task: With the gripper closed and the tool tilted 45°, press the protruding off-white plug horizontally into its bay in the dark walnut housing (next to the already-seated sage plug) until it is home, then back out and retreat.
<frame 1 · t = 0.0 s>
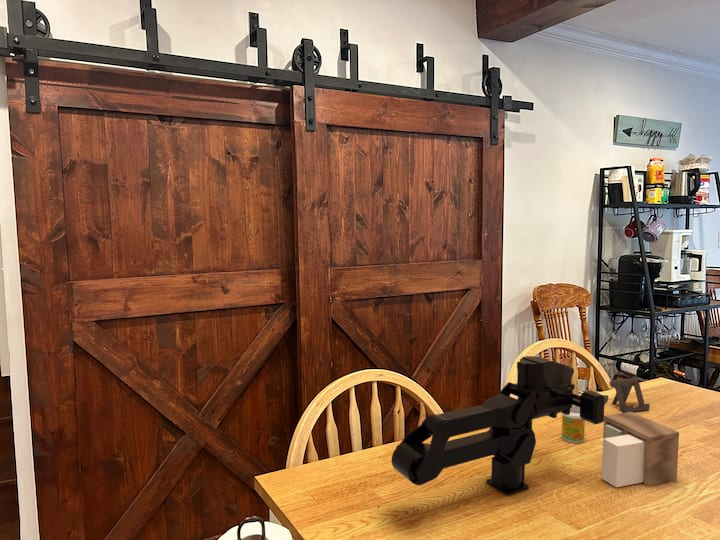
hand: (590, 391, 123), 17 cm above the table, tool horizontal, fingers open, 9 cm apart
white plug: (631, 458, 115), point 5 cm above the table, slide at 0.0 cm
portable electronic device stand: (627, 408, 159), on the table
supplement bottle: (572, 439, 137), on the table
walnut housing: (638, 470, 120), on the table
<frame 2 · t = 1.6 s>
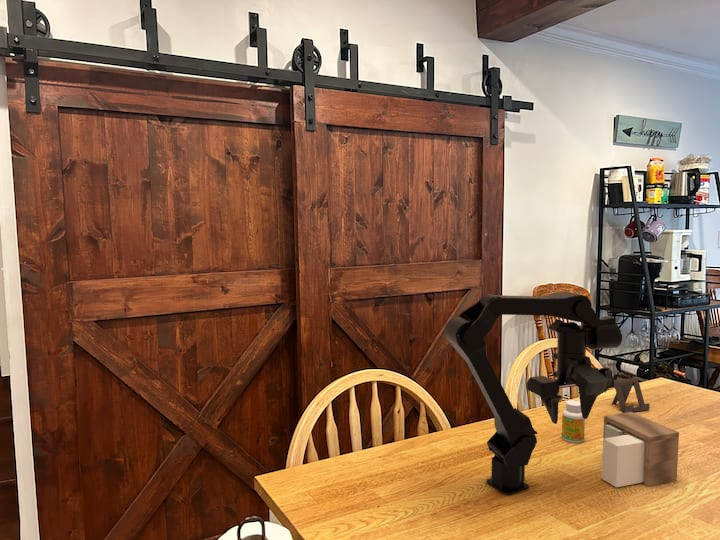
hand: (569, 420, 115), 13 cm above the table, tool pointing down, fingers open, 8 cm apart
nothing on the table moved.
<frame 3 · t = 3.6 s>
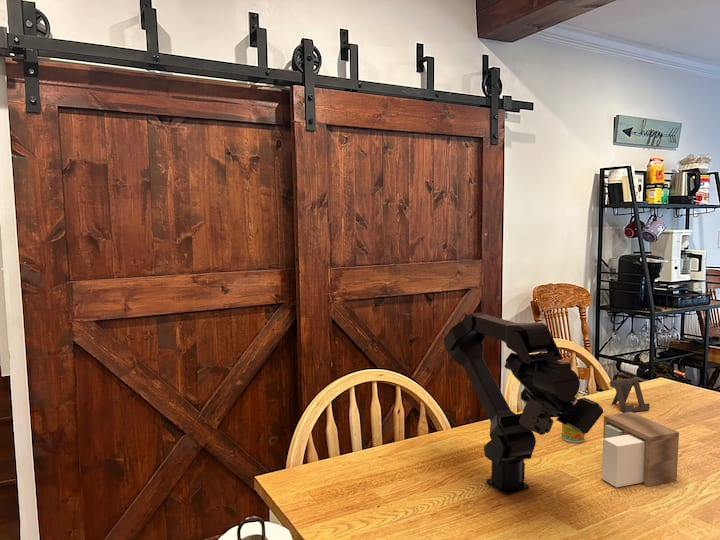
hand: (581, 427, 110), 14 cm above the table, tool tilted 45°, fingers closed
nothing on the table moved.
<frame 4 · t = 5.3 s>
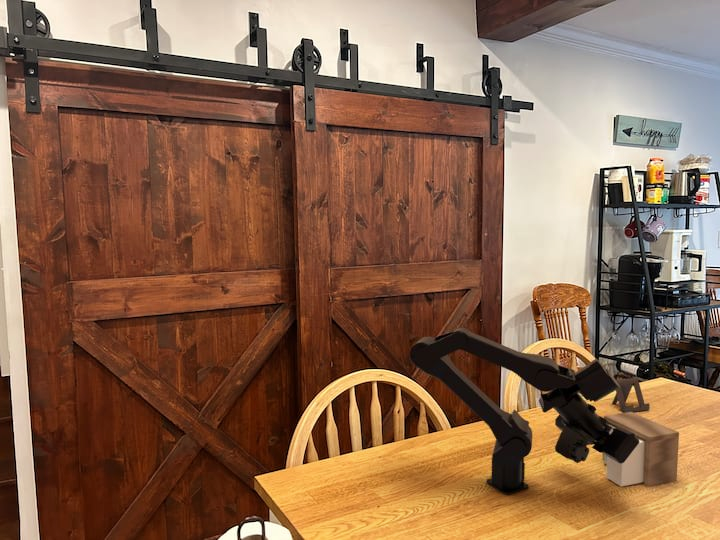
hand: (615, 454, 113), 7 cm above the table, tool tilted 45°, fingers closed, pressing on white plug
white plug: (636, 457, 115), point 5 cm above the table, slide at 1.3 cm, touching gripper
everything else where it was.
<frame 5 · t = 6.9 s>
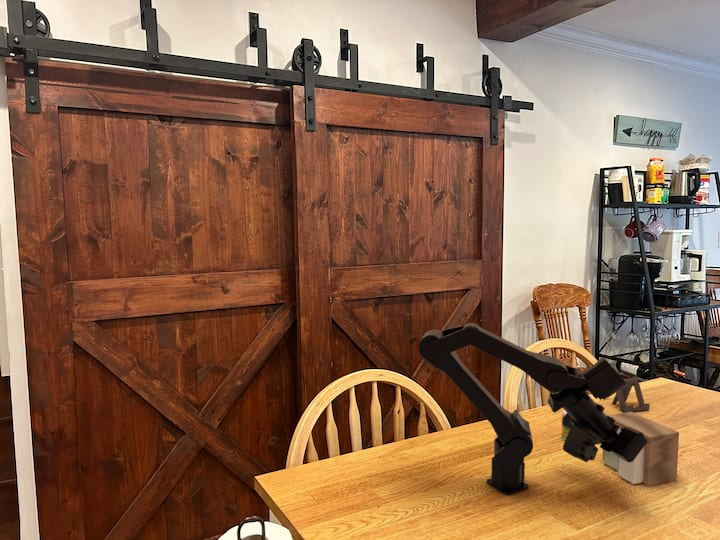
hand: (622, 454, 113), 6 cm above the table, tool tilted 45°, fingers closed
white plug: (648, 455, 116), point 5 cm above the table, slide at 4.5 cm
everything else where it was.
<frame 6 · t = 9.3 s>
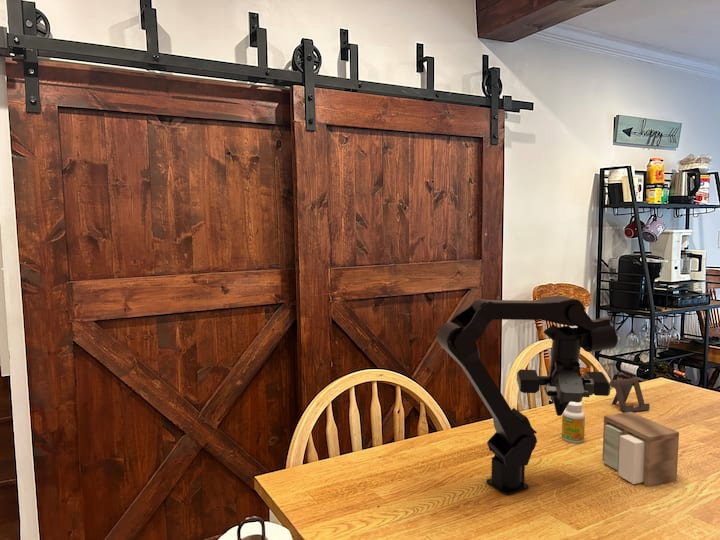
hand: (558, 414, 119), 13 cm above the table, tool pointing down, fingers closed
nothing on the table moved.
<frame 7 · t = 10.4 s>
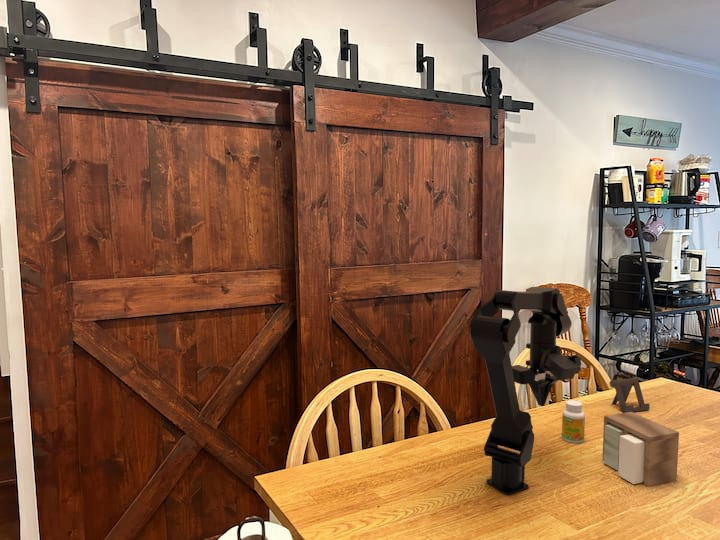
hand: (541, 405, 125), 13 cm above the table, tool pointing down, fingers closed
nothing on the table moved.
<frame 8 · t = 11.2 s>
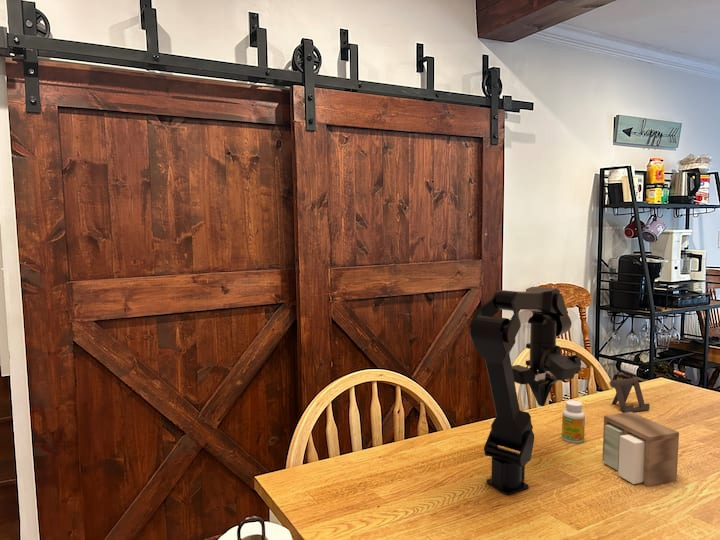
hand: (541, 405, 125), 13 cm above the table, tool pointing down, fingers closed
nothing on the table moved.
at the end: white plug slide at 4.5 cm; the gripper is holding nothing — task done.
